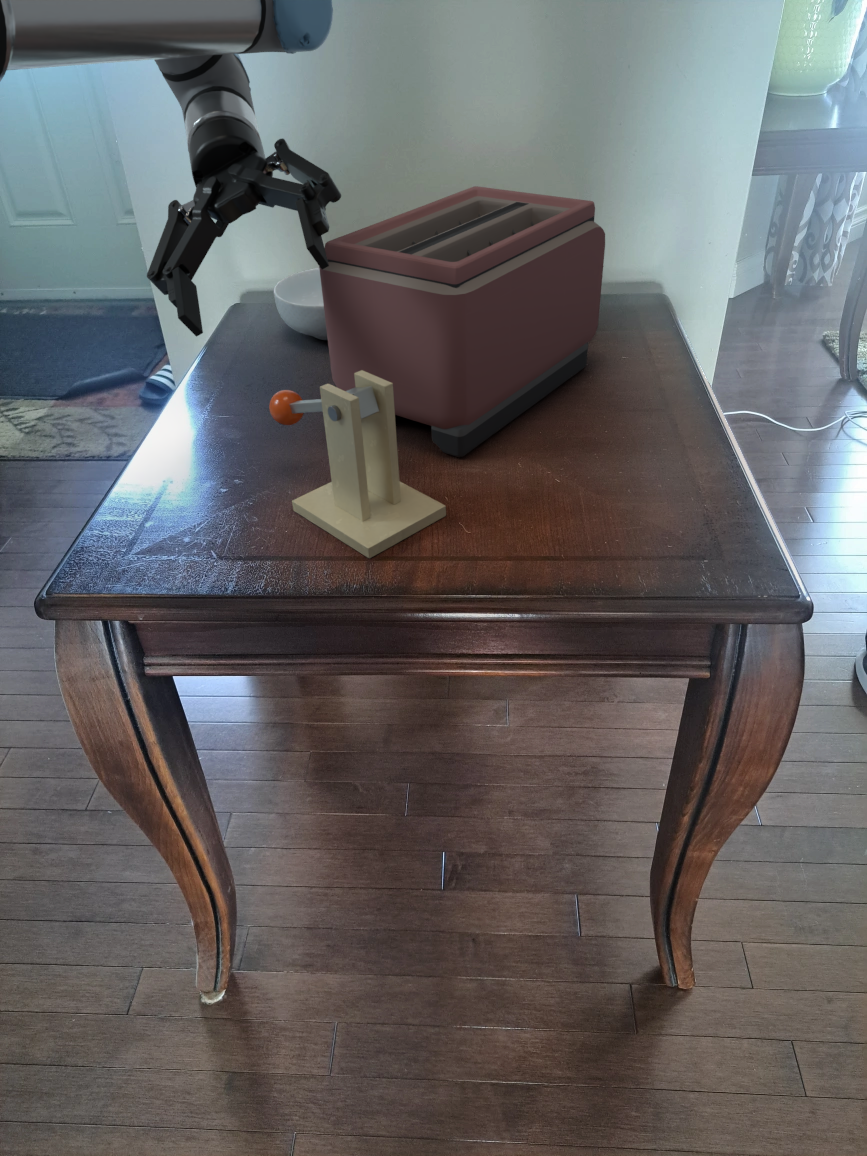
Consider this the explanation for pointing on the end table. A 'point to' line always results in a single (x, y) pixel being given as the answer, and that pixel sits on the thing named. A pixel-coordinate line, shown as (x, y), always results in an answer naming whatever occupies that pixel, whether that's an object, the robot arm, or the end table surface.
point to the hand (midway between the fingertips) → (253, 292)
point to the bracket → (365, 475)
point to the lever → (315, 405)
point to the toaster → (466, 307)
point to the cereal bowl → (302, 303)
